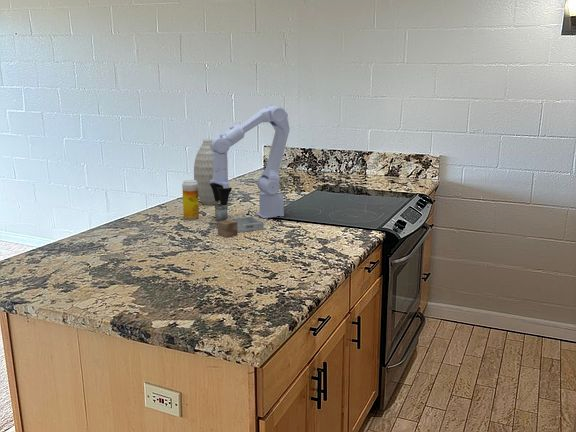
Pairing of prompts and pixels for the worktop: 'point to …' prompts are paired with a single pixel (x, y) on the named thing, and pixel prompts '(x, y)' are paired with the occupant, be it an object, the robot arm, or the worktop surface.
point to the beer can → (190, 199)
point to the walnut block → (227, 228)
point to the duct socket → (246, 226)
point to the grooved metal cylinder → (221, 212)
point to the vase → (204, 173)
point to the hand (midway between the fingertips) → (220, 203)
